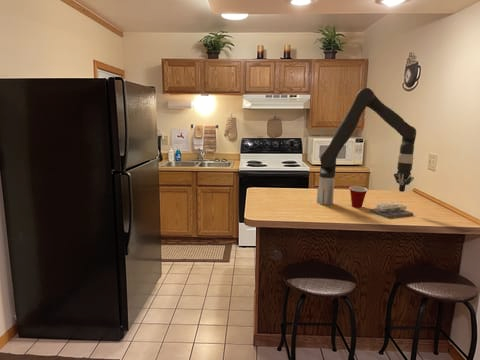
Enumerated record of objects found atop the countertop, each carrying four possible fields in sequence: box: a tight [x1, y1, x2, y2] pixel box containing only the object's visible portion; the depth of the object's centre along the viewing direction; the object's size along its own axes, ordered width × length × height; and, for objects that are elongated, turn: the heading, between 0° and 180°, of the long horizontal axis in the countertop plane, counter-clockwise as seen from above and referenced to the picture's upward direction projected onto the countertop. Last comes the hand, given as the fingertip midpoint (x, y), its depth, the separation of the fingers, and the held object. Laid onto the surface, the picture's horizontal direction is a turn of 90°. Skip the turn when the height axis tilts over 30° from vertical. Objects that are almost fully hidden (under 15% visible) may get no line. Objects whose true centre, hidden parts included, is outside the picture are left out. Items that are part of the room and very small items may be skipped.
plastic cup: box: [348, 185, 368, 209], centre depth 207 cm, size 11×11×12 cm
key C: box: [397, 203, 407, 211], centre depth 197 cm, size 5×5×4 cm
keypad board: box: [369, 207, 414, 219], centre depth 195 cm, size 18×14×4 cm
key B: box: [385, 201, 399, 211], centre depth 194 cm, size 5×5×4 cm
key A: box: [375, 202, 389, 212], centre depth 192 cm, size 5×5×4 cm
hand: (401, 191), depth 195 cm, fingers closed
